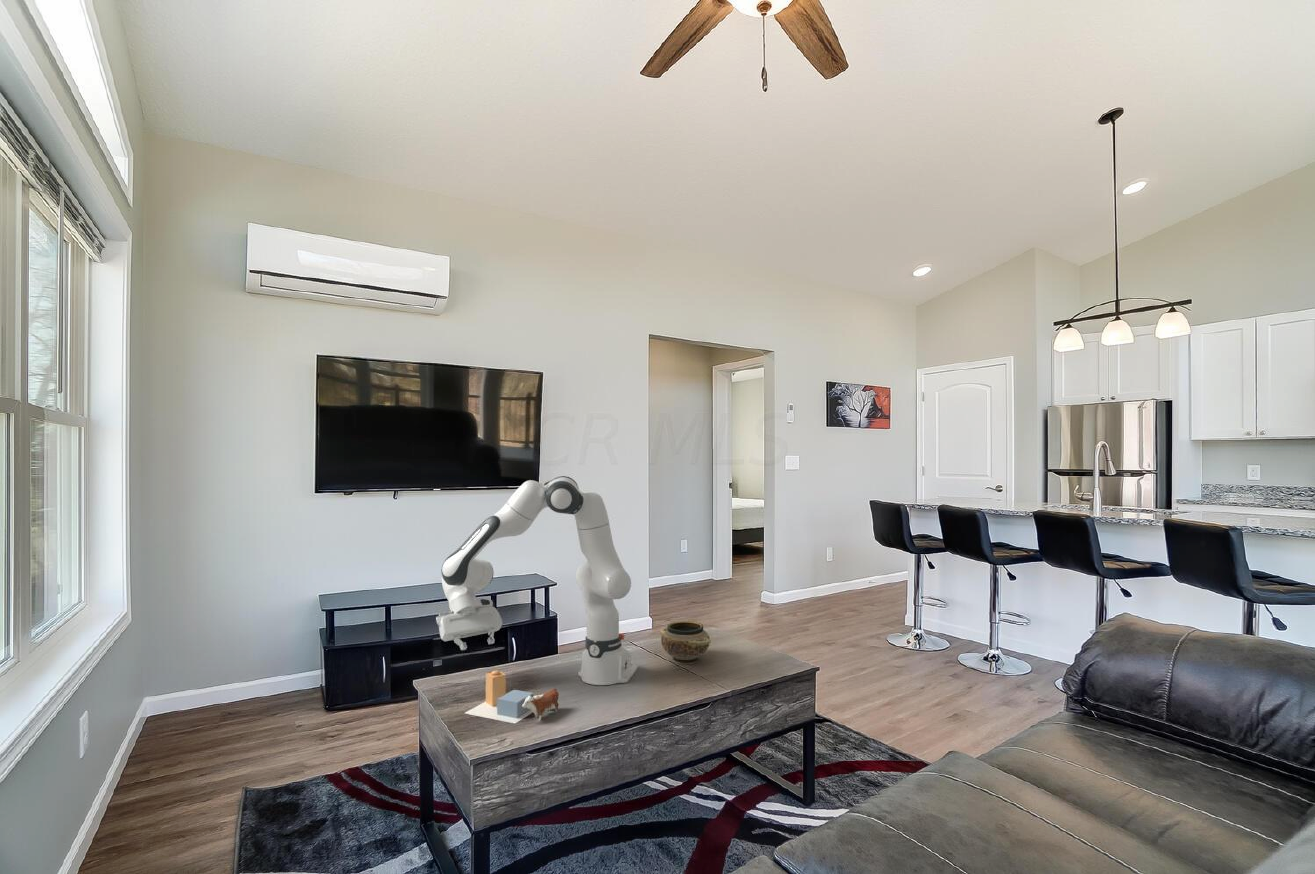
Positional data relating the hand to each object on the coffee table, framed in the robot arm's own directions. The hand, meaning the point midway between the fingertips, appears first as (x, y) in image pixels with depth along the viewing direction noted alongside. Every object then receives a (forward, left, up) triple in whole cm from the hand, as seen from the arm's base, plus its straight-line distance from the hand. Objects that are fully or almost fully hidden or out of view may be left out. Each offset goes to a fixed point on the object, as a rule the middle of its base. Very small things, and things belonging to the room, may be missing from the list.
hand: (478, 645), depth 204 cm
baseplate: (+7, +16, -15) cm, 23 cm away
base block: (+8, +20, -14) cm, 26 cm away
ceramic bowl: (-58, +48, -16) cm, 77 cm away
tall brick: (+5, +11, -14) cm, 19 cm away
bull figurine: (+8, +29, -16) cm, 34 cm away
